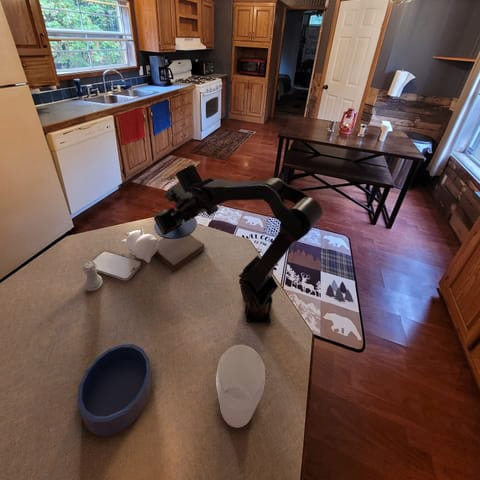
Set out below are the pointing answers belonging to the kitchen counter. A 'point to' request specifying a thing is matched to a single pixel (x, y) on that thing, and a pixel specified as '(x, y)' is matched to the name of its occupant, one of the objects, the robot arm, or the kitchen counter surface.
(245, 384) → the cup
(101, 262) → the smartphone
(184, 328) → the kitchen counter surface
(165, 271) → the kitchen counter surface
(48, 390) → the kitchen counter surface
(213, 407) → the kitchen counter surface
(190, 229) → the lid
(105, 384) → the tin
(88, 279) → the rook chess piece
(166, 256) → the trivet
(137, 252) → the white rounded figure
